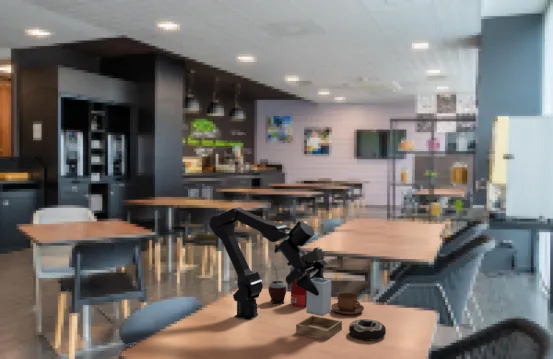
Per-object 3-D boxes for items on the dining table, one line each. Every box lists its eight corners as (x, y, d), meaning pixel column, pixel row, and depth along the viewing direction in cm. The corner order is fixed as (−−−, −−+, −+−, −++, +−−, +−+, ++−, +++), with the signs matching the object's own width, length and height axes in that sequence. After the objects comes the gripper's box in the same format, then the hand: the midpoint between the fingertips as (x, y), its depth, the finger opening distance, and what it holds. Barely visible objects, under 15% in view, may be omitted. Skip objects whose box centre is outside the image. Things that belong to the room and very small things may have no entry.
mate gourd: (280, 305, 190) (280, 267, 190) (263, 302, 194) (263, 264, 194) (290, 301, 196) (290, 264, 196) (273, 298, 201) (273, 261, 200)
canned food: (309, 308, 187) (310, 279, 187) (289, 306, 189) (289, 278, 189) (312, 302, 195) (312, 274, 194) (292, 301, 197) (292, 273, 196)
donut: (383, 344, 152) (383, 331, 152) (345, 339, 156) (345, 326, 156) (388, 331, 163) (388, 319, 163) (352, 327, 167) (352, 315, 167)
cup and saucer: (368, 310, 186) (369, 294, 185) (356, 319, 175) (356, 302, 175) (339, 305, 192) (339, 289, 192) (325, 313, 182) (325, 296, 182)
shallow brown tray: (296, 333, 160) (296, 324, 160) (312, 323, 170) (312, 315, 170) (327, 340, 154) (327, 331, 154) (341, 329, 164) (342, 321, 164)
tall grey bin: (306, 312, 160) (306, 280, 160) (314, 308, 165) (315, 277, 164) (322, 316, 157) (323, 283, 156) (330, 311, 161) (331, 280, 161)
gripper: (294, 243, 154) (324, 284, 148) (322, 236, 170) (351, 272, 164) (272, 265, 159) (301, 305, 153) (302, 256, 174) (330, 292, 169)
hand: (322, 292), depth 160 cm, fingers closed on tall grey bin, 5 cm apart
